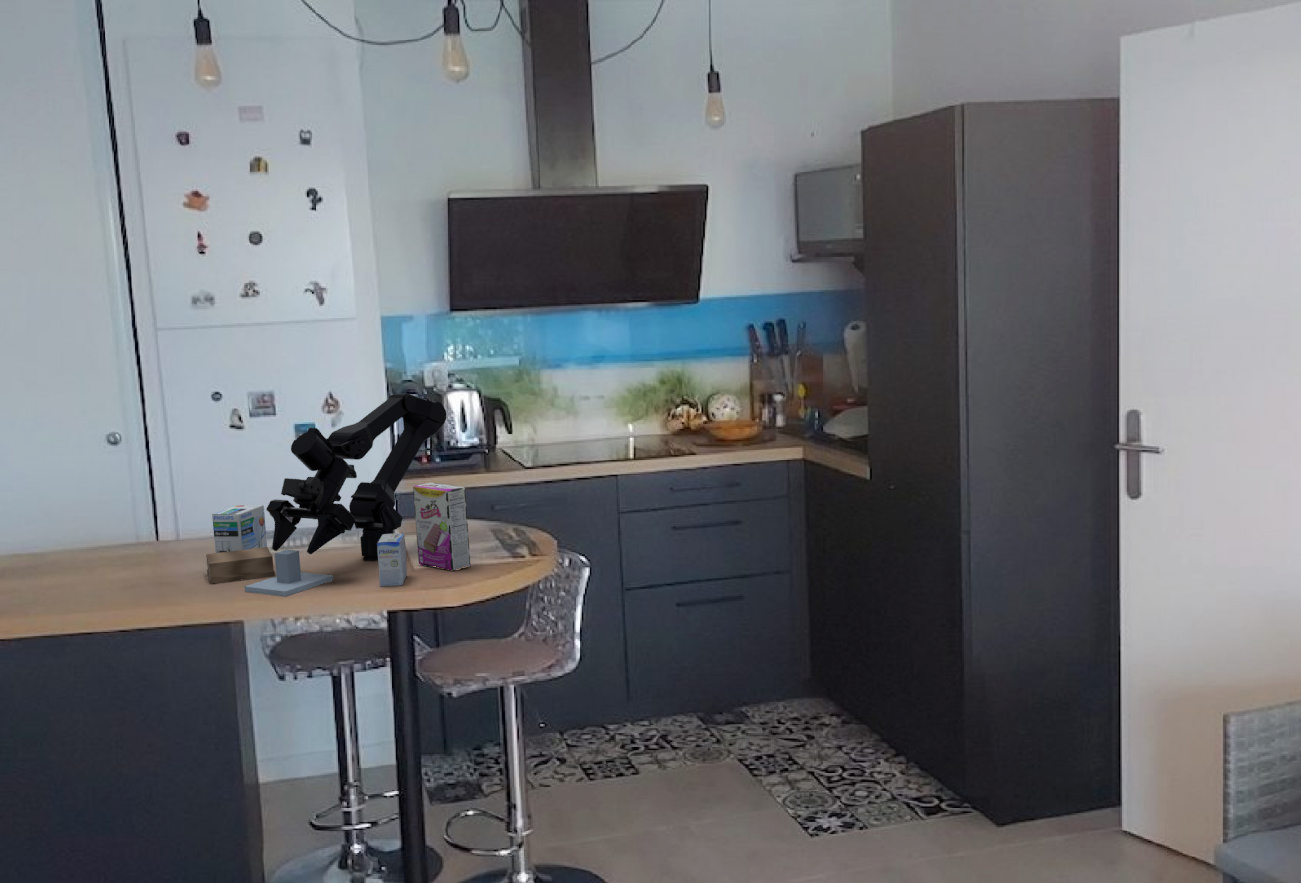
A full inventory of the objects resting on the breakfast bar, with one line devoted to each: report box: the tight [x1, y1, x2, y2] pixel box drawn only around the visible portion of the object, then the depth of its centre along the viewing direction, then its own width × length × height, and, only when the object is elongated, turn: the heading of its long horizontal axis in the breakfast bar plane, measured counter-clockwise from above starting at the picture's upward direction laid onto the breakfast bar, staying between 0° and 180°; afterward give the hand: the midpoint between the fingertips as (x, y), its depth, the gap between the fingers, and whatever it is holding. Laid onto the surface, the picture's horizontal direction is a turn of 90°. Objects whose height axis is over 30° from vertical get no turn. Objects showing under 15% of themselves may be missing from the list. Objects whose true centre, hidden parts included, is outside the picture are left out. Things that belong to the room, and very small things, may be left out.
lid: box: [244, 549, 334, 598], centre depth 247 cm, size 13×11×7 cm
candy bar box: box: [412, 482, 471, 571], centre depth 257 cm, size 11×5×16 cm, turn 48°
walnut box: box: [205, 546, 276, 585], centre depth 259 cm, size 12×10×4 cm
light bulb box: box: [211, 504, 268, 553], centre depth 274 cm, size 11×7×11 cm, turn 168°
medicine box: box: [377, 533, 408, 588], centre depth 247 cm, size 8×4×9 cm, turn 5°
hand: (291, 551), depth 248 cm, fingers open, 9 cm apart
